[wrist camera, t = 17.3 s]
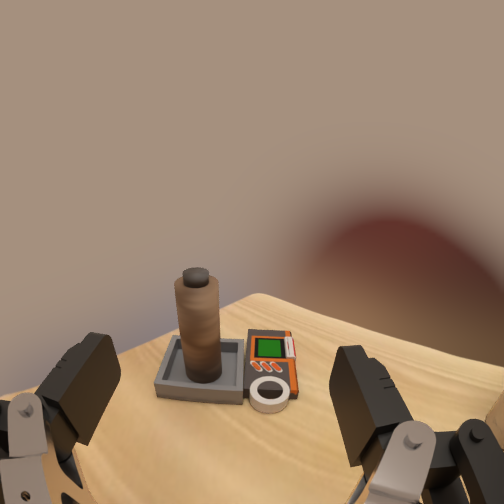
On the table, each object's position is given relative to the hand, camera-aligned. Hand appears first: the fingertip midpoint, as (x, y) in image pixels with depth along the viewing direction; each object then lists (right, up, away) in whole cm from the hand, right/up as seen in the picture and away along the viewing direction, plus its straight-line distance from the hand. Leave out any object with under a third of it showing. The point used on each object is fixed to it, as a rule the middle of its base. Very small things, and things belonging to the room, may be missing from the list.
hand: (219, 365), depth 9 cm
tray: (-5, -12, +25) cm, 28 cm away
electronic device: (+3, -13, +26) cm, 29 cm away
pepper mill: (-5, -12, +25) cm, 28 cm away
